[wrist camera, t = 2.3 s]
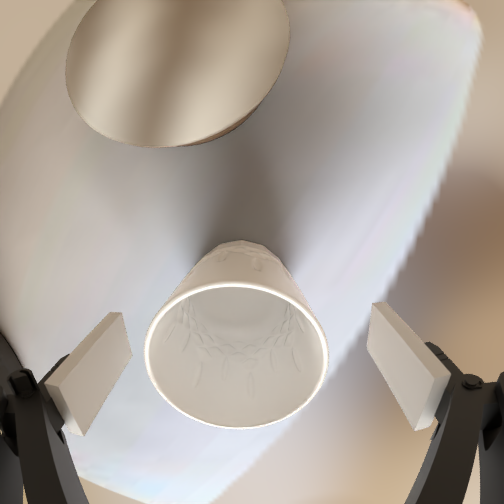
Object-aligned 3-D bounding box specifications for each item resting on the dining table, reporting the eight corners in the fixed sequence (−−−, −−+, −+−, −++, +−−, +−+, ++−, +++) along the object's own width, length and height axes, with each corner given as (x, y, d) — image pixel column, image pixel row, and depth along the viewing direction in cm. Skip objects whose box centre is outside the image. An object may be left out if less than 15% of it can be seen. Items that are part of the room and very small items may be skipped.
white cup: (185, 230, 20) (132, 276, 11) (299, 232, 20) (342, 282, 11) (189, 331, 22) (157, 422, 13) (291, 333, 22) (314, 428, 13)
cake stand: (103, 165, 19) (62, 164, 14) (110, 17, 16) (80, -13, 10) (285, 147, 19) (298, 136, 14) (273, -7, 16) (279, -48, 10)
